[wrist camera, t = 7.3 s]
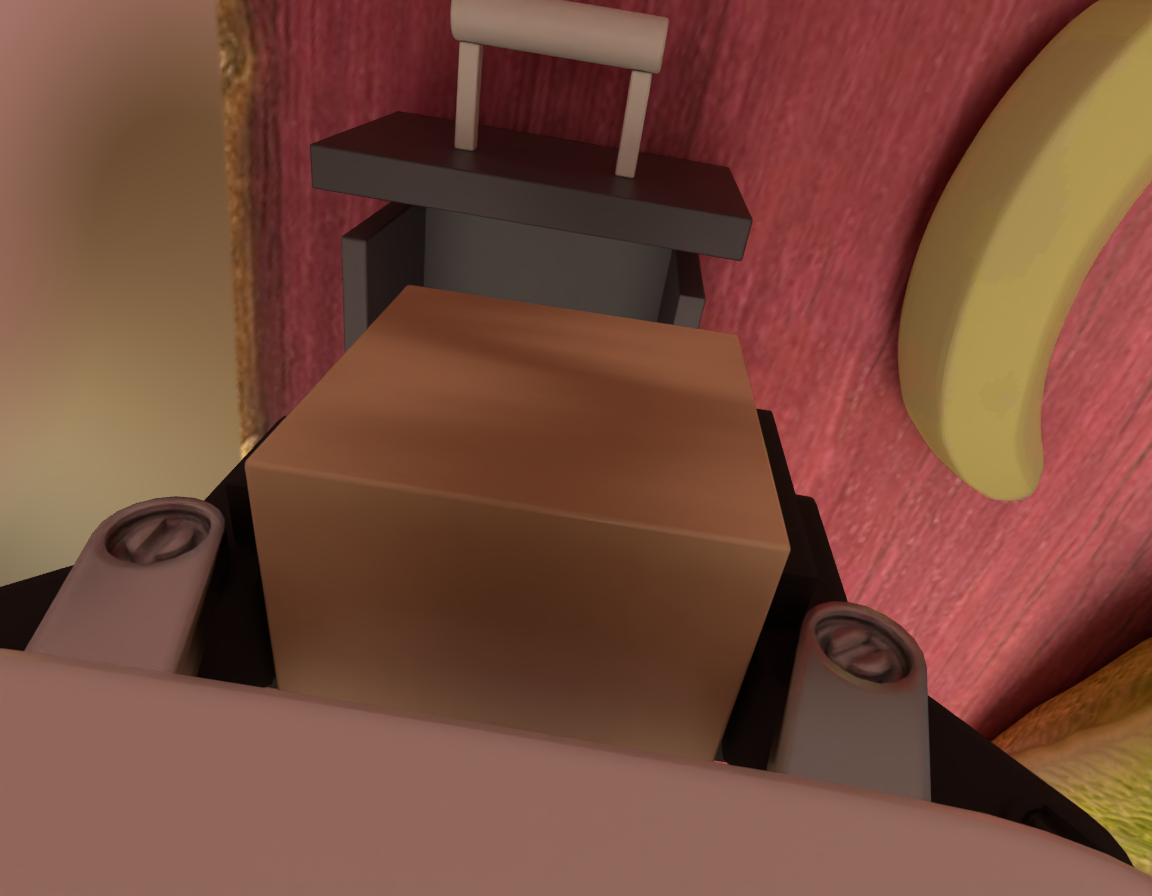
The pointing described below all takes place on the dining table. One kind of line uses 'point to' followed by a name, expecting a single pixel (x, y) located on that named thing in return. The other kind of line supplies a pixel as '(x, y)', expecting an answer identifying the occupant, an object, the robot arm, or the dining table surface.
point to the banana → (1024, 245)
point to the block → (523, 523)
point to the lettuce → (1098, 748)
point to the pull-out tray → (532, 188)
